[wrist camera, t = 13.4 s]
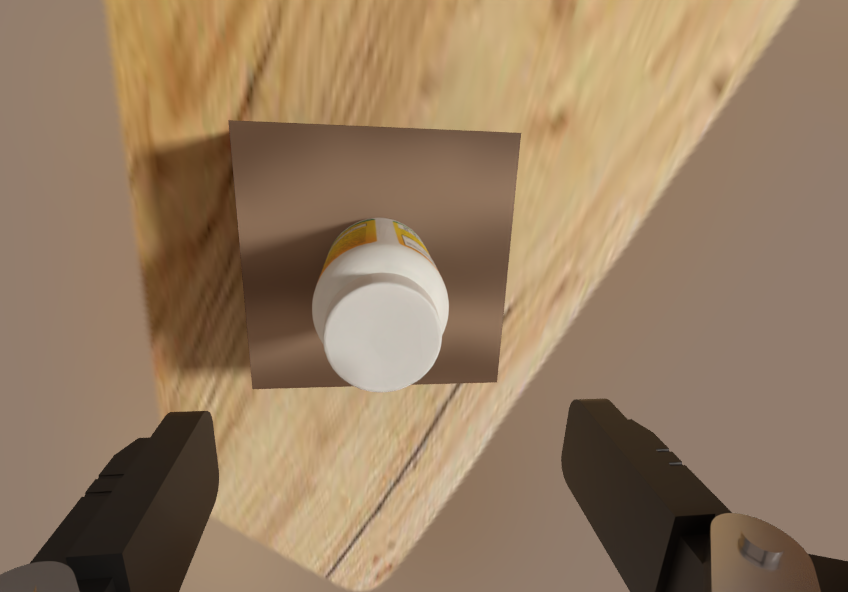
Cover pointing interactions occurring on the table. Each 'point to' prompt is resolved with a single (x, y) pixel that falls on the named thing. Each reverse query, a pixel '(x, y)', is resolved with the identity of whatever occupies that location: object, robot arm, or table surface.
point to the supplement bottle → (380, 306)
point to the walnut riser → (363, 199)
